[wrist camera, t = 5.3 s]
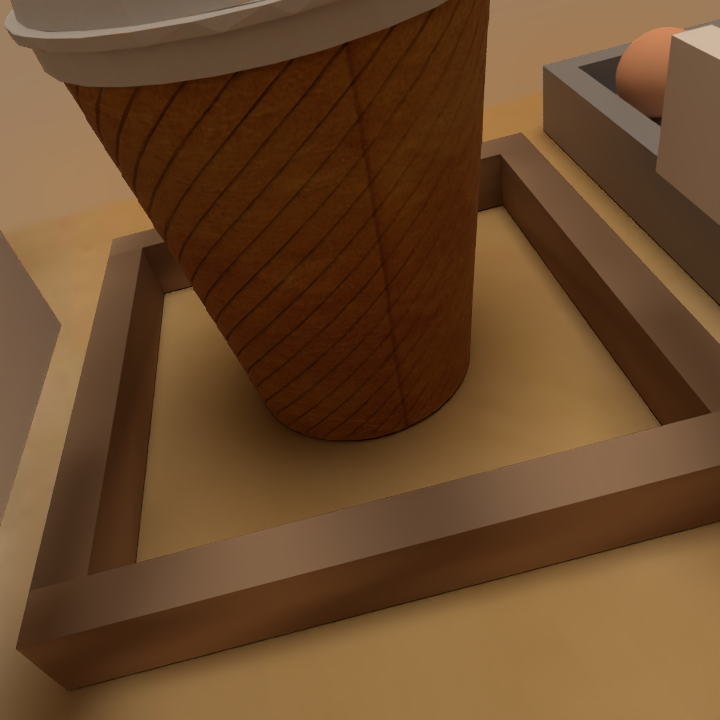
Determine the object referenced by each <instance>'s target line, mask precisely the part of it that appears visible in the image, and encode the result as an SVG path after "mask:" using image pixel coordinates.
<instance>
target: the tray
mask: <svg viewBox="0 0 720 720" xmlns="http://www.w3.org/2000/svg"><path fill="white" fill-rule="evenodd" d="M709 25H714V26H716V27H718V28H720V20H716V21H712V22H708V23H704V24H701V25H697V26H693V27H689V28H685V29H683V30H686V31H689V30H693V29H697V28H701V27H705V26H709ZM630 45H631V43H628V44H624V45H621V46H617V47H613V48H609V49H605V50H601V51H597V52H594V53H590V54H586V55H582V56H578V57H574V58H571V59H567V60H563V61H560V62H555V63H552V64H548V65H544V66H543V130H544V131H545V132H546V133H547V134H548V135H549V136H550V137H551V138H552V139H553V140H554V141H555V142H556V143H557V144H558V145H559V146H560V147H561V148H562V149H563V150H564V151H565V152H566V153H567V154H568V155H569V156H570V157H571V158H572V159H573V160H574V161H575V162H576V163H577V164H578V165H579V166H580V167H581V168H582V169H583V170H584V171H585V172H586V173H587V174H588V175H589V176H590V177H591V178H592V179H593V180H594V181H595V182H596V183H597V184H598V185H599V186H600V187H601V188H602V189H603V190H604V191H605V192H606V193H607V194H608V195H609V196H610V197H611V198H612V199H613V200H614V201H615V202H616V203H617V204H618V205H620V206H621V207H622V208H623V209H624V210H625V211H626V212H627V213H628V214H629V215H630V216H631V217H632V218H633V219H634V220H635V221H636V222H637V223H638V224H639V225H640V226H641V227H642V228H643V229H644V230H645V231H646V232H647V233H648V234H649V235H650V236H651V237H652V238H653V239H654V240H655V241H656V242H657V243H658V244H659V245H660V246H661V247H662V248H663V249H664V250H665V251H666V252H667V253H668V254H669V255H670V256H671V257H672V258H673V259H674V260H675V261H676V262H677V263H678V264H679V265H680V266H681V267H682V268H683V269H684V270H685V271H686V272H687V273H688V274H689V275H690V276H691V277H692V278H693V279H694V280H695V281H696V282H697V283H698V284H699V285H700V286H701V287H702V288H703V289H704V290H705V291H706V292H707V293H708V294H709V295H710V296H711V297H712V298H713V299H714V300H715V301H716V302H717V303H718V304H720V225H719V224H718V223H716V222H715V221H714V220H713V219H712V218H710V217H709V216H708V215H707V214H706V213H704V212H703V211H702V210H701V209H700V208H698V207H697V206H696V205H695V204H694V203H693V202H691V201H690V200H689V199H688V198H687V197H685V196H684V195H683V194H682V193H681V192H679V191H678V190H677V189H676V188H675V187H674V186H672V185H671V184H670V183H669V182H668V181H666V180H665V179H664V178H663V177H662V176H660V175H659V174H658V173H657V172H656V164H657V155H658V147H659V138H660V130H661V121H662V117H660V118H648V117H646V116H645V115H644V114H642V113H641V112H639V111H638V110H637V109H635V108H634V107H633V106H631V105H630V104H628V103H627V102H626V101H624V100H623V99H621V98H620V97H619V96H618V93H617V89H616V70H617V67H618V64H619V61H620V59H621V57H622V55H623V53H624V52H625V51H626V49H627V48H628V47H629V46H630Z"/></svg>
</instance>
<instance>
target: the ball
mask: <svg viewBox="0 0 720 720" xmlns="http://www.w3.org/2000/svg"><path fill="white" fill-rule="evenodd" d="M685 31H686V30H683V29H679V28H675V27H663V28H658V29H654V30H651V31H649V32H647V33H645V34H643V35H641V36H640V37H638V38H637V39H636V40H635V41H634V42H632V43H631V45H630V46H629V47H628V48H627V49H626V51H625V52H624V53H623V55H622V57H621V59H620V61H619V64H618V67H617V70H616V89H617V93H618V96H619V97H620V98H621V99H623V100H624V101H626V102H627V103H628V104H630V105H631V106H633V107H634V108H635V109H637V110H638V111H639V112H641V113H642V114H644V115H645V116H646V117H648V118H660V117H662V113H663V105H664V96H665V88H666V79H667V71H668V62H669V54H670V45H671V37H672V35H674V34H678V33H682V32H685Z"/></svg>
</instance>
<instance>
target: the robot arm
mask: <svg viewBox="0 0 720 720" xmlns="http://www.w3.org/2000/svg"><path fill="white" fill-rule="evenodd" d="M656 172H657V173H658V174H659V175H660V176H662V177H663V178H664V179H665V180H666V181H668V182H669V183H670V184H671V185H672V186H674V187H675V188H676V189H677V190H678V191H679V192H681V193H682V194H683V195H684V196H685V197H687V198H688V199H689V200H690V201H691V202H693V203H694V204H695V205H696V206H697V207H698V208H700V209H701V210H702V211H703V212H704V213H706V214H707V215H708V216H709V217H710V218H712V219H713V220H714V221H715V222H716V223H718V224H719V225H720V28H718V27H716V26H714V25H709V26H705V27H701V28H697V29H693V30H689V31H685V32H682V33H678V34H674V35H672V37H671V45H670V54H669V62H668V71H667V79H666V88H665V96H664V105H663V113H662V121H661V130H660V138H659V147H658V155H657V164H656ZM60 328H61V324H60V322H59V321H58V319H57V318H56V316H55V314H54V313H53V311H52V310H51V308H50V307H49V305H48V304H47V302H46V300H45V299H44V297H43V296H42V294H41V293H40V291H39V290H38V288H37V287H36V285H35V283H34V282H33V280H32V279H31V277H30V276H29V274H28V273H27V271H26V270H25V268H24V266H23V265H22V263H21V262H20V260H19V259H18V257H17V256H16V254H15V252H14V251H13V249H12V248H11V246H10V245H9V243H8V242H7V240H6V239H5V237H4V235H3V234H2V232H1V231H0V525H1V522H2V519H3V515H4V512H5V509H6V505H7V502H8V499H9V496H10V492H11V489H12V486H13V482H14V479H15V476H16V473H17V469H18V466H19V463H20V459H21V456H22V453H23V450H24V446H25V443H26V440H27V436H28V433H29V430H30V427H31V423H32V420H33V417H34V413H35V410H36V407H37V404H38V400H39V397H40V394H41V390H42V387H43V384H44V381H45V377H46V374H47V371H48V367H49V364H50V361H51V358H52V354H53V351H54V348H55V344H56V341H57V338H58V335H59V331H60Z"/></svg>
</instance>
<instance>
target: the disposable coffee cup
mask: <svg viewBox="0 0 720 720" xmlns="http://www.w3.org/2000/svg"><path fill="white" fill-rule="evenodd" d="M489 2H490V0H11V3H12V7H13V9H12V10H11V12H10V13H9V15H8V16H7V18H6V19H5V28H6V29H7V31H8V33H9V34H10V36H11V37H12V39H13V40H14V41H15V42H16V43H17V44H18V45H20V46H23V47H27V48H31V49H32V50H33V52H34V53H35V55H36V57H37V59H38V60H39V62H40V64H41V66H42V67H43V69H44V71H45V72H46V73H47V74H49V75H51V76H52V77H54V78H56V79H57V80H59V81H60V82H64V84H65V85H66V87H67V88H68V90H69V91H70V93H71V94H72V96H73V97H74V99H75V101H76V102H77V104H78V105H79V107H80V108H81V110H82V111H83V113H84V114H85V117H86V119H87V121H88V123H89V124H90V126H91V127H92V129H93V130H94V132H95V134H96V135H97V137H98V138H99V139H100V141H101V143H102V144H103V146H104V147H105V150H106V151H107V153H108V154H109V156H110V157H111V159H112V160H113V162H114V163H115V165H116V166H117V168H118V169H119V171H120V172H121V173H122V177H123V178H124V180H125V181H126V183H127V184H128V186H129V187H130V189H131V190H132V191H133V193H134V195H135V196H136V198H137V199H138V202H139V203H140V205H141V206H142V208H143V209H144V211H145V212H146V214H147V215H148V217H149V218H150V220H151V221H152V223H153V226H154V228H155V229H156V231H157V232H158V233H159V235H160V236H161V238H162V239H163V241H164V242H165V244H166V245H167V246H168V250H169V251H170V253H171V254H172V256H173V257H174V259H175V260H176V262H177V263H178V264H179V266H180V267H181V270H182V272H183V273H184V275H185V276H186V278H187V279H188V281H189V282H190V284H191V285H192V287H193V290H194V291H195V292H196V294H197V295H198V297H199V298H200V300H201V301H202V303H203V304H204V306H205V307H206V310H207V312H208V313H209V315H210V316H211V318H212V319H213V320H214V322H215V323H216V324H217V327H218V329H219V330H220V332H221V333H222V335H223V336H224V338H225V339H226V341H227V342H228V345H229V346H230V348H231V349H232V351H233V352H234V354H235V355H236V357H237V358H238V361H239V362H240V364H241V365H242V367H243V368H244V370H245V371H246V373H248V376H249V378H250V380H251V381H252V383H253V384H254V386H255V387H256V388H258V389H257V391H258V392H259V394H260V396H261V397H262V399H263V400H264V402H265V404H266V406H267V408H268V409H269V410H270V411H271V413H272V414H273V415H274V416H275V417H276V418H277V419H278V420H279V421H280V422H282V423H283V424H285V425H286V426H288V427H289V428H291V429H292V430H295V431H297V432H300V433H302V434H305V435H307V436H310V437H316V438H321V439H326V440H362V439H369V438H376V437H379V436H383V435H386V434H390V433H393V432H397V431H400V430H402V429H404V428H406V427H408V426H410V425H412V424H414V423H416V422H418V421H420V420H422V419H424V418H425V417H427V416H428V415H430V414H431V413H433V412H434V411H436V410H437V409H439V408H440V407H441V406H442V405H443V404H444V403H445V402H446V401H447V400H448V399H449V398H450V397H451V396H452V395H453V394H454V392H455V391H456V389H457V388H458V387H459V385H460V384H461V382H462V381H463V379H464V376H465V374H466V371H467V368H468V366H469V359H470V339H471V318H472V299H473V281H474V263H475V247H476V231H477V213H478V194H479V177H480V164H481V147H482V130H483V103H484V84H485V67H486V48H487V30H488V21H489V4H490V3H489Z"/></svg>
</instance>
